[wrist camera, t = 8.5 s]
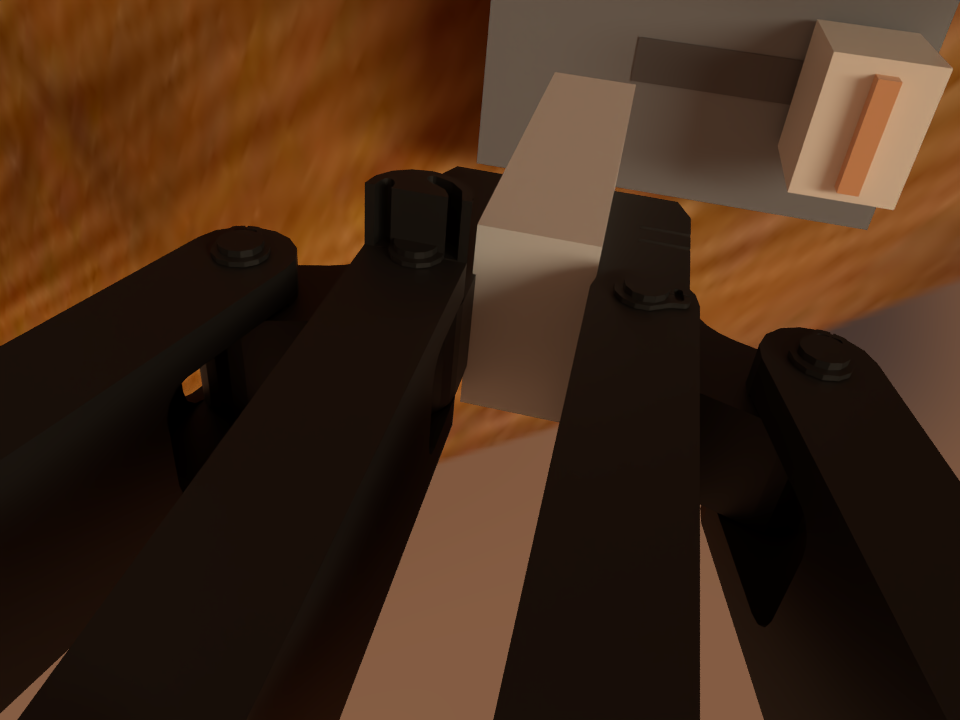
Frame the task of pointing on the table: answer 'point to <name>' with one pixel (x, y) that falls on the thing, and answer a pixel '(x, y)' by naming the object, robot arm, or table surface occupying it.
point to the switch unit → (684, 86)
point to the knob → (860, 113)
